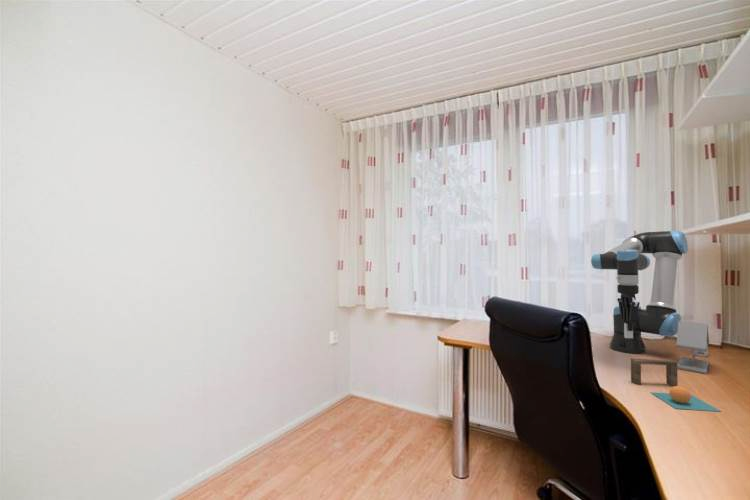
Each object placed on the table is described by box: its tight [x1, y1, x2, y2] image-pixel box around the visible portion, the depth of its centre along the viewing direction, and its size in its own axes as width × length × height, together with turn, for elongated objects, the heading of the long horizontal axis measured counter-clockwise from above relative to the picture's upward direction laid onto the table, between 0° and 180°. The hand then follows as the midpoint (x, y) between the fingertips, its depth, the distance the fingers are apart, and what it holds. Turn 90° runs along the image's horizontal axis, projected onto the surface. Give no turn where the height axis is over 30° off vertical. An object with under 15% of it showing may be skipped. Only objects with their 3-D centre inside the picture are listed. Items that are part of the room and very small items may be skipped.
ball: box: [668, 385, 692, 403], centre depth 116 cm, size 6×6×6 cm
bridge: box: [630, 358, 679, 387], centre depth 133 cm, size 3×14×9 cm, turn 80°
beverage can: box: [695, 344, 709, 357], centre depth 169 cm, size 6×6×15 cm
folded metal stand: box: [675, 320, 711, 375], centre depth 152 cm, size 18×10×20 cm, turn 133°
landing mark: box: [650, 391, 722, 413], centre depth 117 cm, size 13×13×1 cm
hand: (628, 337), depth 149 cm, fingers closed
